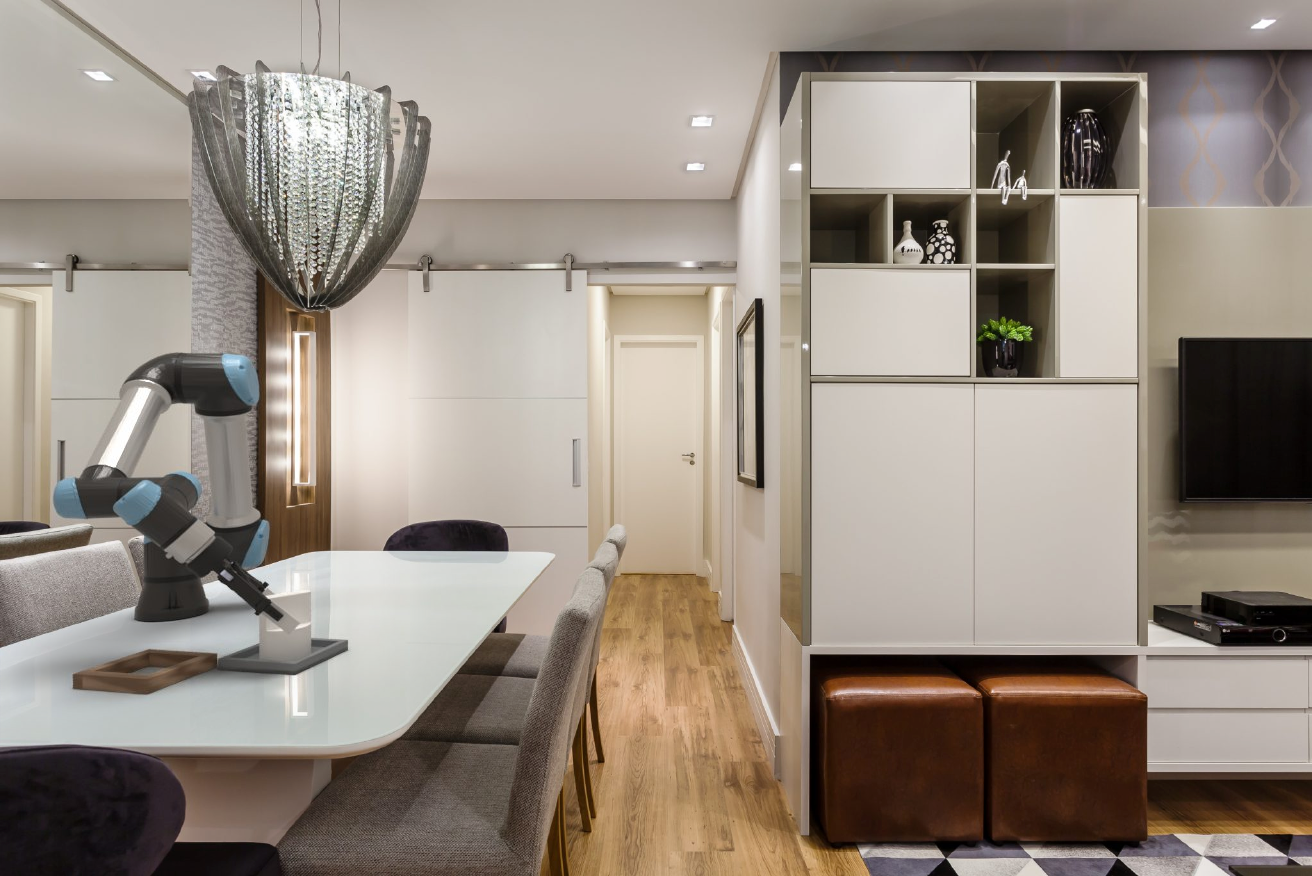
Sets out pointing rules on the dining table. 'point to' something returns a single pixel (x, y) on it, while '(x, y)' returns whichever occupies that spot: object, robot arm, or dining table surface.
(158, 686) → the walnut collar
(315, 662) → the charcoal tray
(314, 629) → the dining table surface
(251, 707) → the dining table surface
